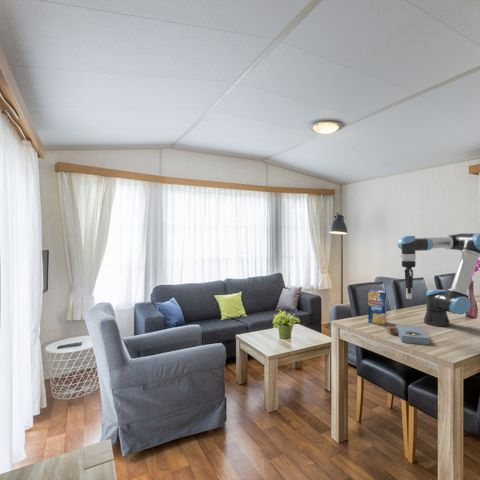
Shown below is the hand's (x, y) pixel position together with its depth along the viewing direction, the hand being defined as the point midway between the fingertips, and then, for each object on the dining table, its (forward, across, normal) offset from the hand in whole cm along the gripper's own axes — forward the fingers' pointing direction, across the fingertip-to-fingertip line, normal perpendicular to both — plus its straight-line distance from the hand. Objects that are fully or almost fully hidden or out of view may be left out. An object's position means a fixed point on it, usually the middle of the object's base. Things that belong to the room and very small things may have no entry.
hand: (409, 298), depth 188 cm
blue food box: (+22, -20, -16) cm, 34 cm away
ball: (+20, +13, 0) cm, 24 cm away
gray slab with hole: (+22, +8, 0) cm, 23 cm away
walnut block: (+22, +4, -10) cm, 24 cm away
